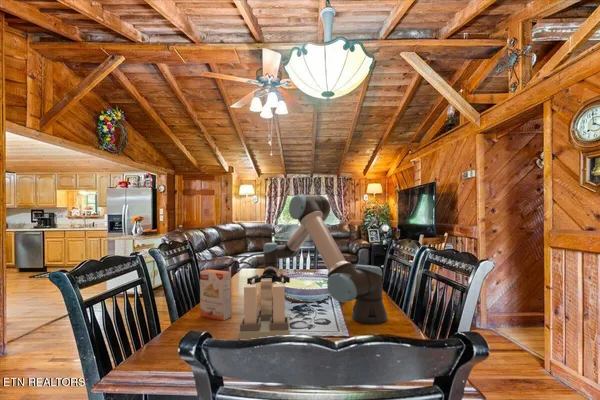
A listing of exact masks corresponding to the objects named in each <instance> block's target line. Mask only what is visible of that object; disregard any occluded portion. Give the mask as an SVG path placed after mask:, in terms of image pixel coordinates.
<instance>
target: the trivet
mask: <svg viewBox="0 0 600 400" xmlns="http://www.w3.org/2000/svg"><path fill="white" fill-rule="evenodd" d="M286 299H287V301H288V302H292V303H298V304H312V303H313V302H308V303H307V302H305V301H300V300H295V299H292V298H289V297H287V296H286V295H285V300H286ZM327 300H329V298H327V299H324V300H322V301H321V302H325V301H327ZM321 302H320V301H316V303H321ZM313 304H314V303H313Z"/></svg>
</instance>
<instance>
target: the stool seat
mask: <svg viewBox="0 0 600 400" xmlns="http://www.w3.org/2000/svg"><path fill="white" fill-rule="evenodd" d="M257 291H258V290H257V284H255V285H250V284H245V285H244V286H243V315H244V316H243V318H242V319H241V321H240V324H239V331H238V340H239V339H251V338H259V337H267V336H276V335H290V336H291V329H290V324H291V323H290V314H288V313H286V312H285V311H286V308H285V307H286V304H285V303H286V302H285V301H286V299H285V293H286V292H285V291H286V290H285V284H282V283H272V314H261V309H258V298H257V297H258V295H257V294H258V293H257Z"/></svg>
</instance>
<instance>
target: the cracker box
mask: <svg viewBox="0 0 600 400" xmlns="http://www.w3.org/2000/svg"><path fill="white" fill-rule="evenodd" d="M199 289H200V290H199V297H200V298H199V300H200V301H199V303H200V304H199V306H200V307H199V310H200V313H199V314H200V315H199V316H200V317H202V318H208V319H212V320H217V321H222V322H224V321H227V320H228V319H230V318H232V315H233V313H232V272H231V271H228V270H227V271H226V270H216V269H204V270H201V271H199Z"/></svg>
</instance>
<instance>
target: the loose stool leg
mask: <svg viewBox="0 0 600 400" xmlns="http://www.w3.org/2000/svg"><path fill="white" fill-rule="evenodd" d="M272 309H273V283H272V278H269V279H261V282H260V310H261V314H272Z"/></svg>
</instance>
